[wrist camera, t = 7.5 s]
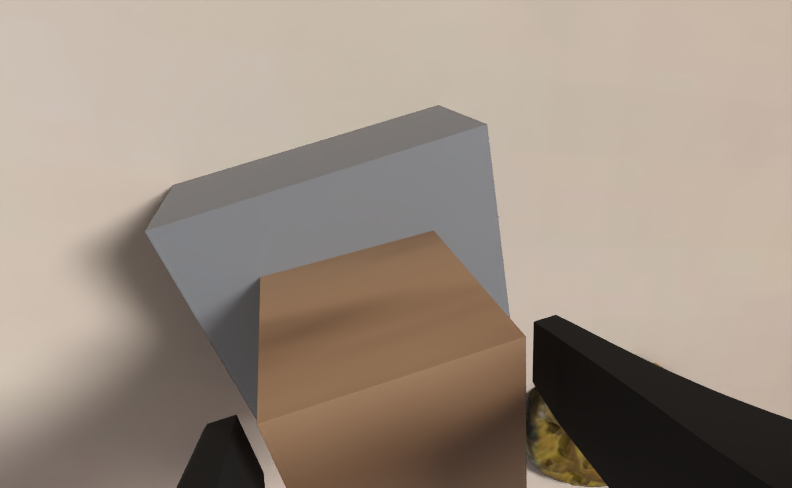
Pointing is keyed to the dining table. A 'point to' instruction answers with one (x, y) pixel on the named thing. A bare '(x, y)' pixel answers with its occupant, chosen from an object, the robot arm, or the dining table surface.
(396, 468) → the walnut cube
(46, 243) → the dining table surface
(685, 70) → the dining table surface
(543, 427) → the seal
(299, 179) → the grey block
